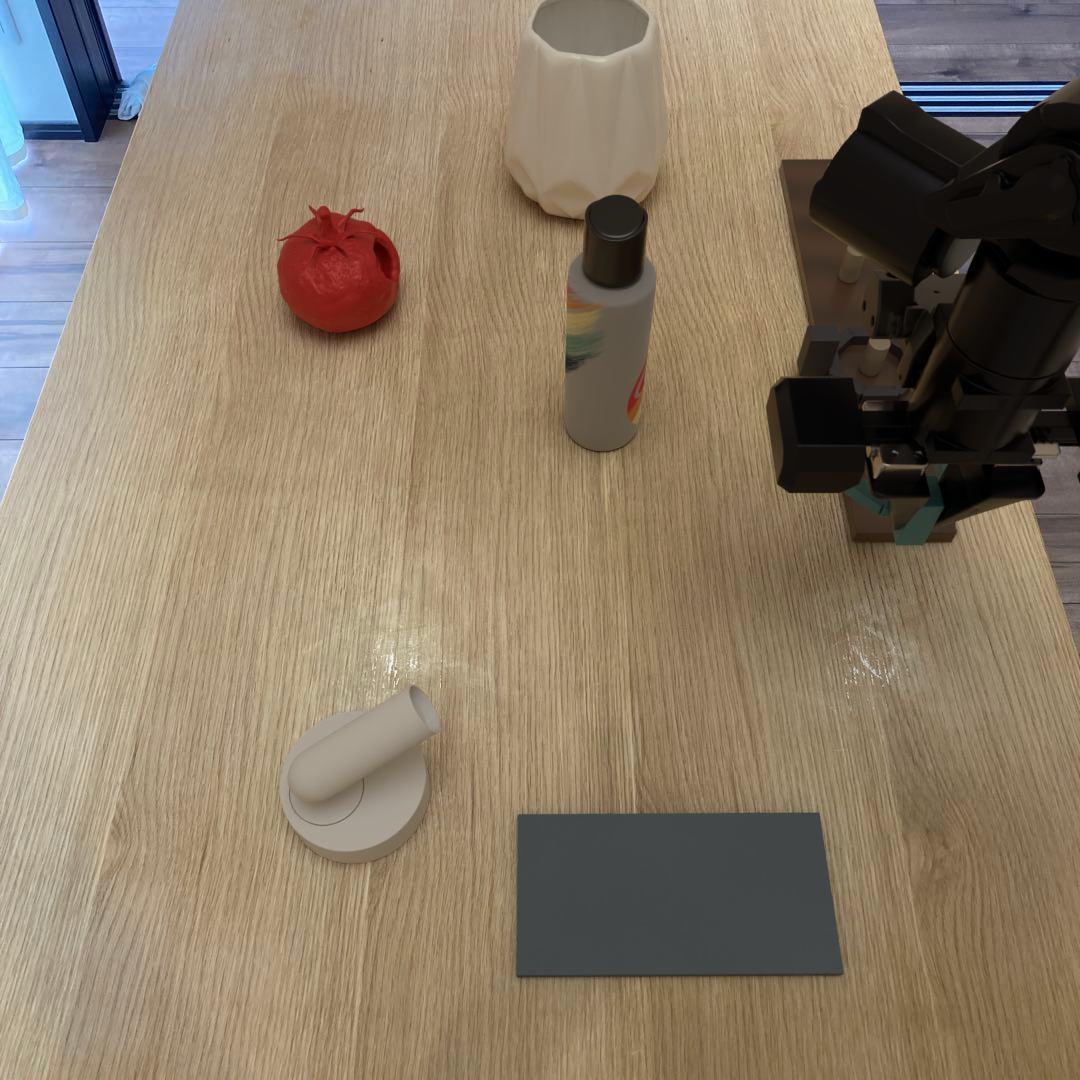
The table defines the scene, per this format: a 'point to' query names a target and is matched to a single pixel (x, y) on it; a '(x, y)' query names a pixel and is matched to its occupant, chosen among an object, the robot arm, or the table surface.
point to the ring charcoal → (824, 361)
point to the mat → (674, 895)
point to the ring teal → (921, 521)
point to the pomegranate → (338, 271)
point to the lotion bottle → (608, 325)
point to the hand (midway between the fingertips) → (910, 523)
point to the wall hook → (361, 779)
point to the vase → (586, 104)
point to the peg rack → (842, 316)
